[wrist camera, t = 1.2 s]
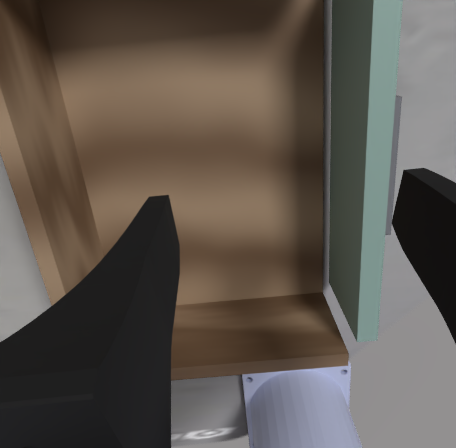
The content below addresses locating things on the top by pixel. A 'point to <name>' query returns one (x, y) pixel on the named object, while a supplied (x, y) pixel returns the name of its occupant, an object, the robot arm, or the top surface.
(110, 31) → the wooden drawer
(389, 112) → the green flat rectangular panel
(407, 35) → the top surface
